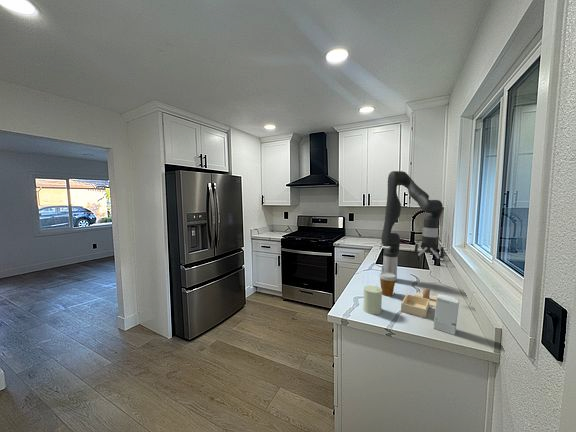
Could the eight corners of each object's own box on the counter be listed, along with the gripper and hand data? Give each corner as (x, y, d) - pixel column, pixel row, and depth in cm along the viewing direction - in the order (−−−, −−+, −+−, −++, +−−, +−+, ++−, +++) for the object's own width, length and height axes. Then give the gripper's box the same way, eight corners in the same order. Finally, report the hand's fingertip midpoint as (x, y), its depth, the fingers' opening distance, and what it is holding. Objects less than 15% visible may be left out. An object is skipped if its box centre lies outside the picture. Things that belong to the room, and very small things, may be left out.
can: (379, 316, 118) (380, 293, 117) (360, 311, 123) (361, 289, 122) (383, 308, 126) (384, 286, 125) (365, 304, 131) (366, 283, 130)
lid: (412, 302, 134) (413, 290, 134) (417, 293, 146) (417, 283, 145) (436, 308, 128) (437, 296, 127) (438, 298, 139) (439, 287, 138)
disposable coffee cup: (394, 291, 147) (395, 273, 146) (396, 298, 138) (397, 278, 137) (378, 289, 150) (379, 271, 149) (378, 296, 141) (379, 276, 140)
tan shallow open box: (400, 311, 123) (401, 303, 122) (406, 301, 134) (406, 293, 133) (425, 318, 116) (425, 309, 116) (428, 307, 127) (429, 299, 127)
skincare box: (433, 328, 107) (435, 297, 106) (435, 323, 112) (437, 292, 111) (455, 335, 102) (458, 302, 101) (457, 329, 107) (459, 297, 105)
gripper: (414, 234, 135) (413, 262, 137) (444, 238, 126) (442, 267, 128) (416, 232, 141) (415, 259, 143) (445, 235, 132) (443, 263, 134)
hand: (428, 263), depth 136 cm, fingers open, 8 cm apart
